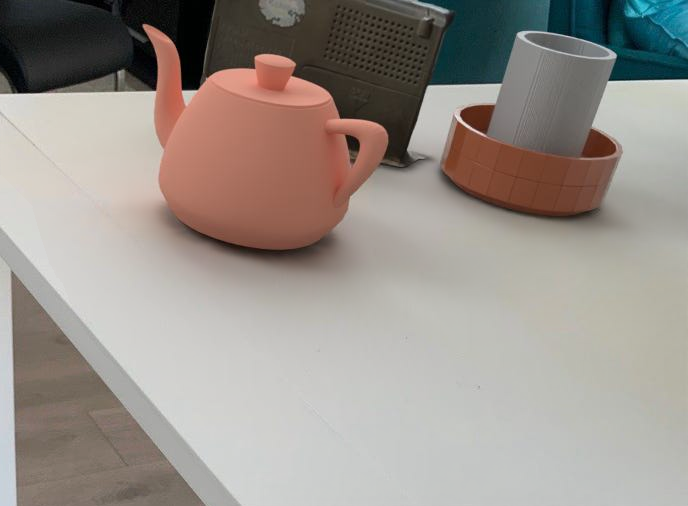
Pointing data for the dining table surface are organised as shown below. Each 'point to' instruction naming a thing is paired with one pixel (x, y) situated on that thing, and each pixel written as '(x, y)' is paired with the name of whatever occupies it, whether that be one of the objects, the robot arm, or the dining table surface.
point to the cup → (551, 93)
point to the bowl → (526, 168)
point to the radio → (341, 55)
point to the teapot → (257, 152)
